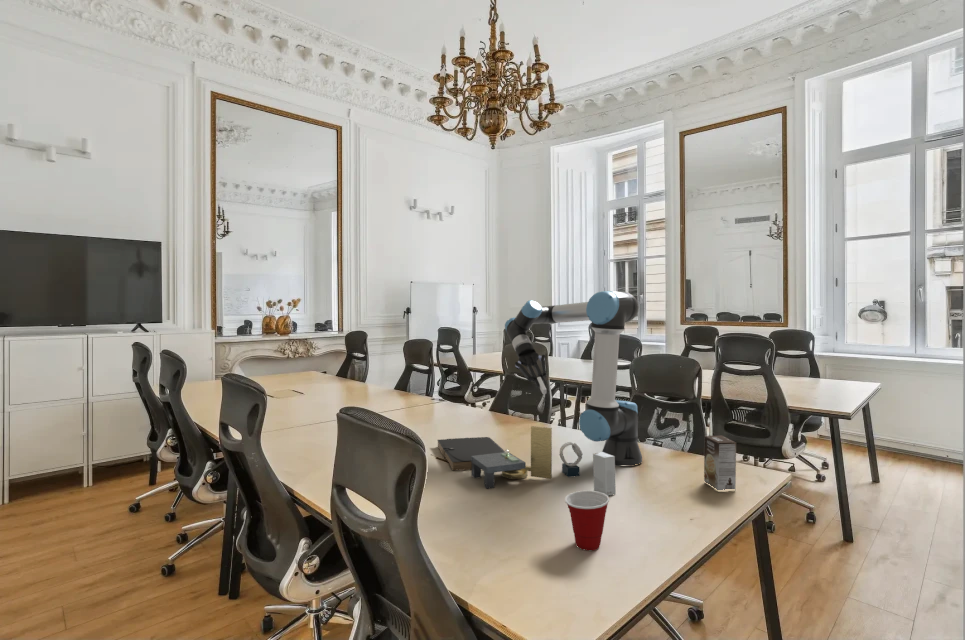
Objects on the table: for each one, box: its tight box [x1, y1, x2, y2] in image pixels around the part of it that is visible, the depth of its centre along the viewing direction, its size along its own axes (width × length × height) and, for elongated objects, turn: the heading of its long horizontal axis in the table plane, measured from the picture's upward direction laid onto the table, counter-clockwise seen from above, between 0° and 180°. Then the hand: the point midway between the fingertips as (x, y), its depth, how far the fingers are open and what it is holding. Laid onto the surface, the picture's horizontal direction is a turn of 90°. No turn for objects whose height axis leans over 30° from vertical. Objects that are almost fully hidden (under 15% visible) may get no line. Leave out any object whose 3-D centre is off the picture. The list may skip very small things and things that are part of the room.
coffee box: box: [703, 434, 737, 490], centre depth 167 cm, size 9×6×16 cm
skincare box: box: [592, 451, 617, 497], centre depth 162 cm, size 6×4×12 cm
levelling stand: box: [471, 449, 527, 490], centre depth 175 cm, size 14×14×9 cm
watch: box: [558, 441, 583, 478], centre depth 181 cm, size 6×8×11 cm
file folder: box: [437, 436, 505, 472], centre depth 203 cm, size 33×4×24 cm
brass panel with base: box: [501, 425, 553, 480], centre depth 178 cm, size 9×17×18 cm, turn 81°
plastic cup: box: [564, 490, 610, 551], centre depth 126 cm, size 11×11×12 cm
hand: (544, 391), depth 195 cm, fingers closed
